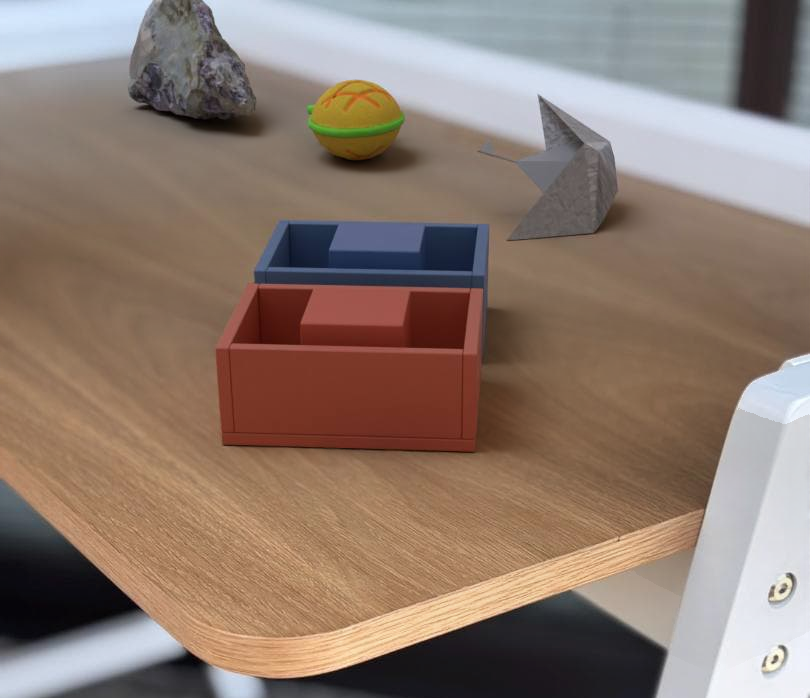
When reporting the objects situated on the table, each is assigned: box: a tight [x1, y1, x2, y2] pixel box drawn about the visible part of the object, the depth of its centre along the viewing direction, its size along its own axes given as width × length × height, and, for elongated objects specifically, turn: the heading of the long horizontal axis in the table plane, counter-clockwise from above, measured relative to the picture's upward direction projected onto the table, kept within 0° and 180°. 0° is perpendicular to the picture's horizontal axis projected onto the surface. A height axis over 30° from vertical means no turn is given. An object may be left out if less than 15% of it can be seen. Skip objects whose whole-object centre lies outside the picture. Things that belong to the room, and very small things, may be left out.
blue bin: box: [253, 219, 490, 364], centre depth 77 cm, size 11×8×5 cm
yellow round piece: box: [306, 79, 405, 161], centre depth 108 cm, size 7×10×5 cm
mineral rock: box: [127, 0, 257, 120], centre depth 116 cm, size 13×11×10 cm
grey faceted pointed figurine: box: [476, 93, 619, 241], centre depth 94 cm, size 12×6×9 cm
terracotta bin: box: [214, 283, 483, 453], centre depth 68 cm, size 11×8×5 cm
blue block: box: [329, 223, 425, 270], centre depth 77 cm, size 4×4×4 cm
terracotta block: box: [300, 288, 411, 348], centre depth 68 cm, size 4×4×4 cm
